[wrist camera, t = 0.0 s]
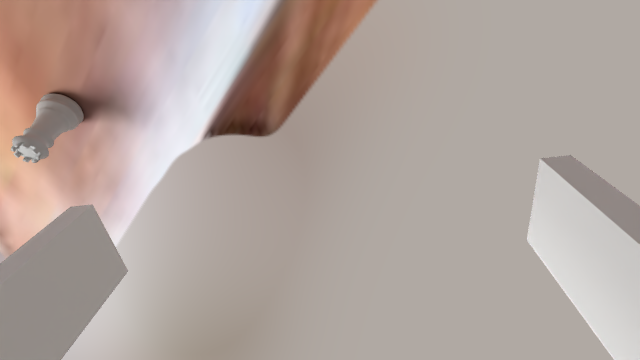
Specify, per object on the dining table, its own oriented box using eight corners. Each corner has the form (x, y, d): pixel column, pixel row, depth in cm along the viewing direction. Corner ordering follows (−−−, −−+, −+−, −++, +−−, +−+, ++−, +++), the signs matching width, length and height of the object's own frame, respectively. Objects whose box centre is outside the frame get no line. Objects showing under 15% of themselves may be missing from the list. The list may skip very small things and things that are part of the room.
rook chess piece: (72, 90, 40) (33, 136, 34) (92, 122, 43) (59, 169, 38) (34, 91, 40) (-12, 137, 34) (56, 122, 43) (18, 169, 38)
